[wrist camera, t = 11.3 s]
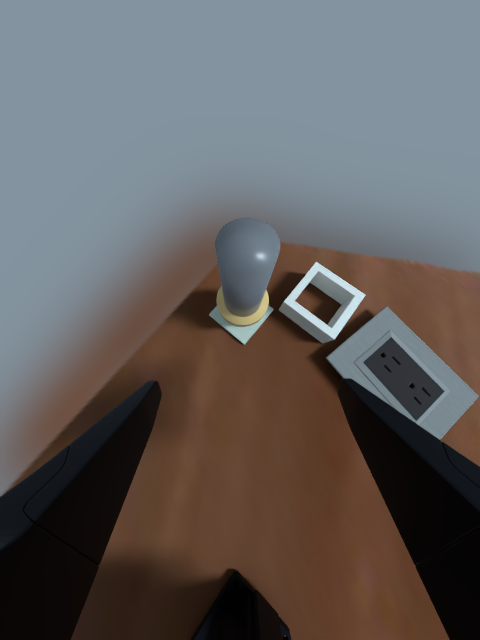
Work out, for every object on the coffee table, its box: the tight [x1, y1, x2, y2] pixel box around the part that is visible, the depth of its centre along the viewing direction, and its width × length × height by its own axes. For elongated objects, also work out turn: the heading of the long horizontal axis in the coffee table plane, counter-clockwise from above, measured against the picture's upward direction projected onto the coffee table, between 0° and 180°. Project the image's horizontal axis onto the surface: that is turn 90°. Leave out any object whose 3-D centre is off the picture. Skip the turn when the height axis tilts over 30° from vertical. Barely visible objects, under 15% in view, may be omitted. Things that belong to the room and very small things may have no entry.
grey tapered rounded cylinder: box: [216, 218, 280, 327], centre depth 18 cm, size 6×6×13 cm
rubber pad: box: [209, 305, 274, 345], centre depth 24 cm, size 6×6×1 cm
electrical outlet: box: [326, 307, 479, 440], centre depth 22 cm, size 13×10×2 cm
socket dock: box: [279, 262, 365, 344], centre depth 23 cm, size 7×7×3 cm
